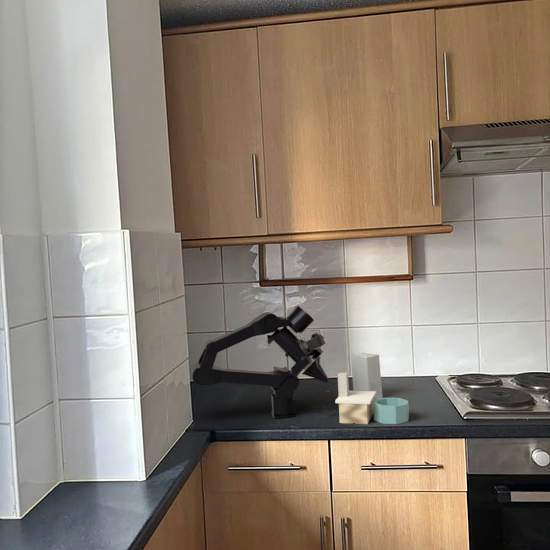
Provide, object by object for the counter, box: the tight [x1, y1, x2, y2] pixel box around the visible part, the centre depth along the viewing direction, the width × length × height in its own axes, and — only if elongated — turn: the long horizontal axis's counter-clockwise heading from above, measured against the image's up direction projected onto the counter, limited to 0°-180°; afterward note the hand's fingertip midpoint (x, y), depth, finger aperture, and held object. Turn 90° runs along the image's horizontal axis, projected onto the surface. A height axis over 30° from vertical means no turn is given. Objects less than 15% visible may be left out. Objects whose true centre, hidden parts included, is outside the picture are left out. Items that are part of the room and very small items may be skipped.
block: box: [338, 401, 374, 425], centre depth 174 cm, size 8×12×6 cm, turn 162°
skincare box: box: [350, 352, 384, 402], centre depth 195 cm, size 8×6×15 cm
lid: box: [334, 372, 376, 404], centre depth 174 cm, size 10×12×7 cm
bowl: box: [373, 397, 410, 425], centre depth 171 cm, size 10×10×5 cm
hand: (327, 381), depth 176 cm, fingers closed
